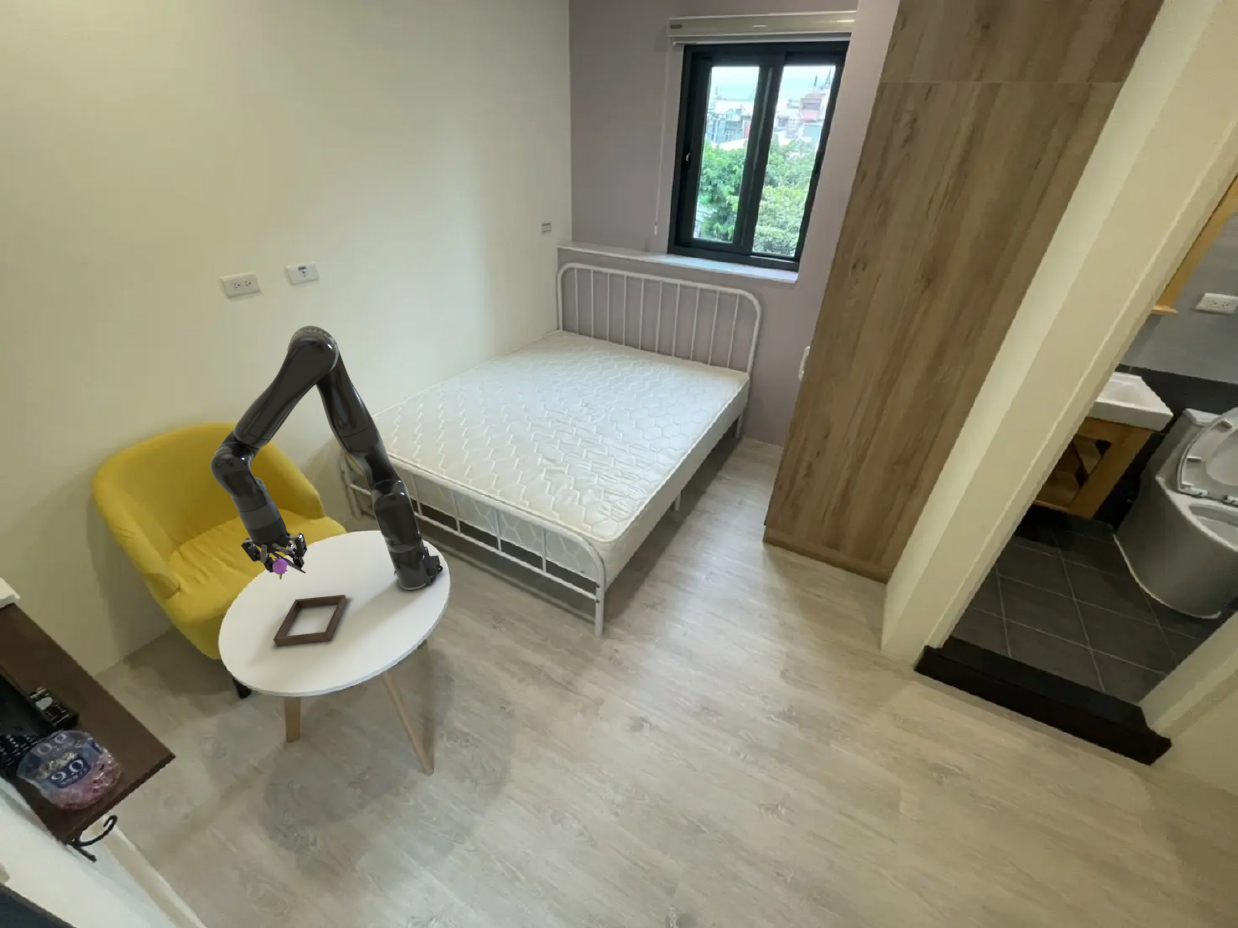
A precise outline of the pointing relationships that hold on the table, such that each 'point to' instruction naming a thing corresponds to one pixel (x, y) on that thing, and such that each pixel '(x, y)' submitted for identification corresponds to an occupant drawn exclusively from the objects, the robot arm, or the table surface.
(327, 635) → the brown square frame
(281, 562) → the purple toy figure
